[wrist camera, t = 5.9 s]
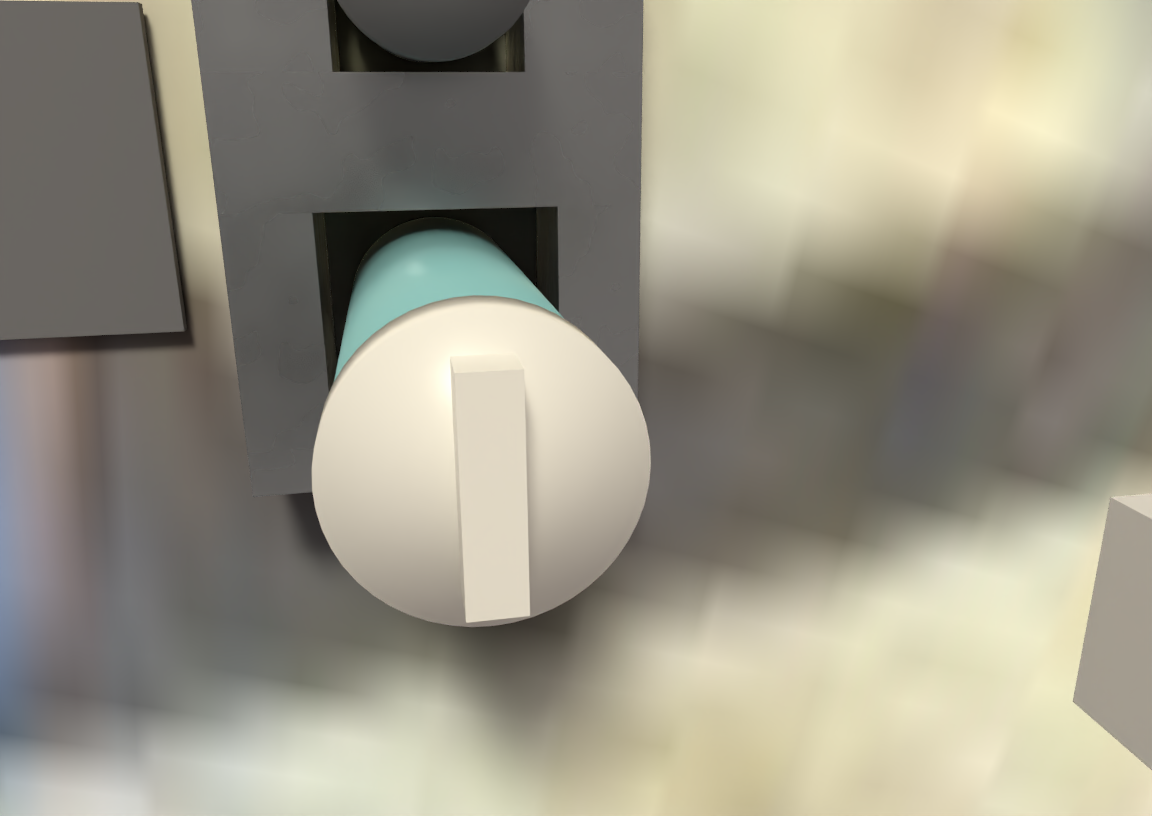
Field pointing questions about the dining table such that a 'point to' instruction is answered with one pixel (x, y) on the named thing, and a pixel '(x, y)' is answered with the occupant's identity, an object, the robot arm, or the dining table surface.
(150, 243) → the mat
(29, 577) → the dining table surface
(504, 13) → the plunger
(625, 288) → the housing
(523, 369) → the cartridge
